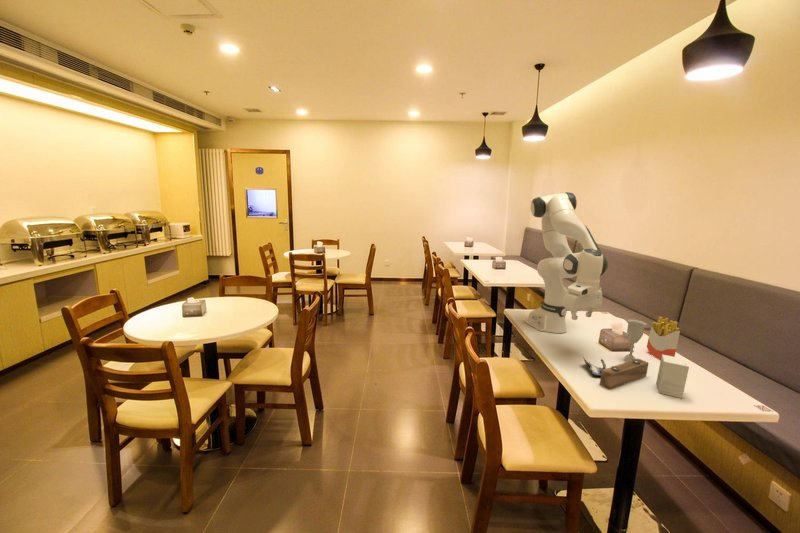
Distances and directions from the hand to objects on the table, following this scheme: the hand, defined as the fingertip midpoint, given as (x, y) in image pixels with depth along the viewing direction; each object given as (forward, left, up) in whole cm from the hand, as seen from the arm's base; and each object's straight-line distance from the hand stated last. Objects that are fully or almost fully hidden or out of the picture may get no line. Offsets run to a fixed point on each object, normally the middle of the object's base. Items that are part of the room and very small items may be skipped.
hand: (581, 318), depth 154 cm
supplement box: (+33, +8, -19) cm, 39 cm away
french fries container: (+15, +37, -19) cm, 44 cm away
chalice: (+12, +20, -19) cm, 30 cm away
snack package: (+13, -4, -19) cm, 23 cm away
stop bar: (+21, 0, -19) cm, 28 cm away
